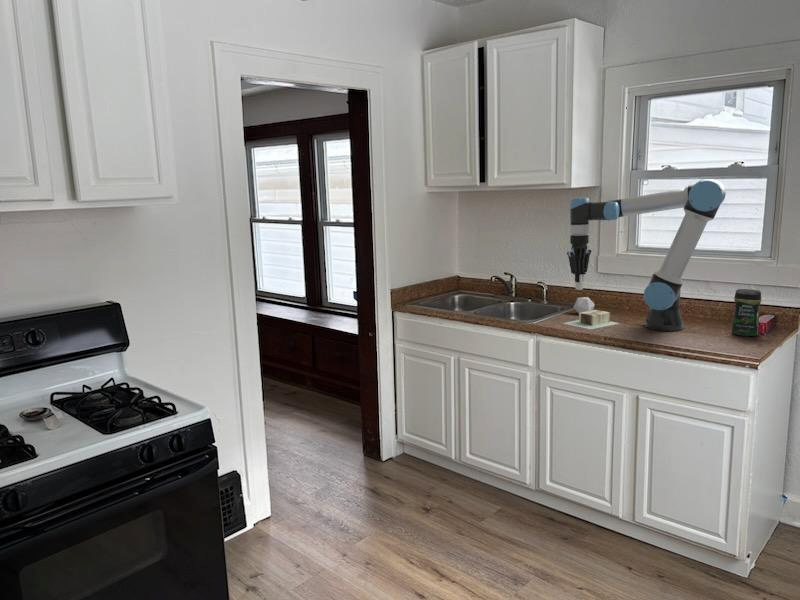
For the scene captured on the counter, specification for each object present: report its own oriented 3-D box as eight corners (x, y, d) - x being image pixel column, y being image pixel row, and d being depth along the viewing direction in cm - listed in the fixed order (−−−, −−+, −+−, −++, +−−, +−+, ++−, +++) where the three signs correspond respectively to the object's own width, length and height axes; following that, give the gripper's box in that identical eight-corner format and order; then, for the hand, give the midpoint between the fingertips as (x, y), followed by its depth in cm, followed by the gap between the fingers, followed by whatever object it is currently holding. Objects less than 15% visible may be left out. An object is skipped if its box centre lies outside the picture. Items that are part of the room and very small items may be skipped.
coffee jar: (729, 335, 264) (732, 289, 261) (733, 331, 271) (736, 287, 267) (756, 338, 259) (760, 291, 255) (760, 334, 265) (763, 288, 262)
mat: (619, 324, 289) (619, 323, 289) (590, 330, 279) (590, 329, 279) (590, 318, 302) (590, 317, 302) (562, 323, 292) (562, 323, 292)
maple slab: (593, 325, 285) (609, 322, 291) (593, 315, 285) (610, 312, 291) (578, 322, 292) (595, 319, 298) (579, 312, 291) (595, 309, 297)
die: (592, 318, 305) (600, 299, 308) (575, 309, 305) (583, 290, 307) (584, 321, 314) (592, 303, 316) (568, 312, 313) (575, 294, 316)
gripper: (582, 233, 285) (582, 286, 289) (562, 235, 278) (561, 290, 282) (596, 233, 279) (596, 288, 283) (575, 235, 272) (575, 292, 276)
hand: (579, 289), depth 282 cm, fingers closed
